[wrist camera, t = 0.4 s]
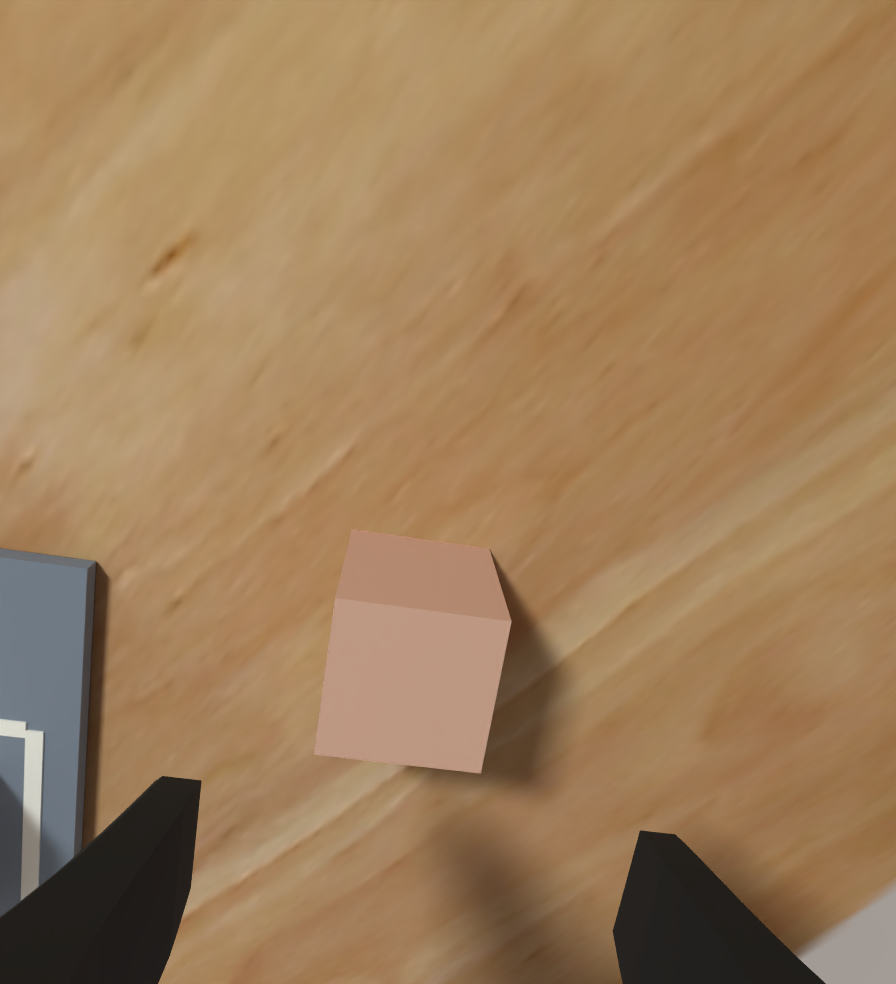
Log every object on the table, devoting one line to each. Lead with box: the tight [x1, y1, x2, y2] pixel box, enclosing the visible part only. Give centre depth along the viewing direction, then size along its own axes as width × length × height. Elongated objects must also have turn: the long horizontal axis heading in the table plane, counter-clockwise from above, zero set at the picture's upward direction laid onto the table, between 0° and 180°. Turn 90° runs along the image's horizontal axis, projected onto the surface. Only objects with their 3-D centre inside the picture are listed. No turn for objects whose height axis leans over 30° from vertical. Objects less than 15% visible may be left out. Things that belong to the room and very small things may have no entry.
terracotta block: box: [314, 529, 512, 773], centre depth 20 cm, size 4×4×5 cm
